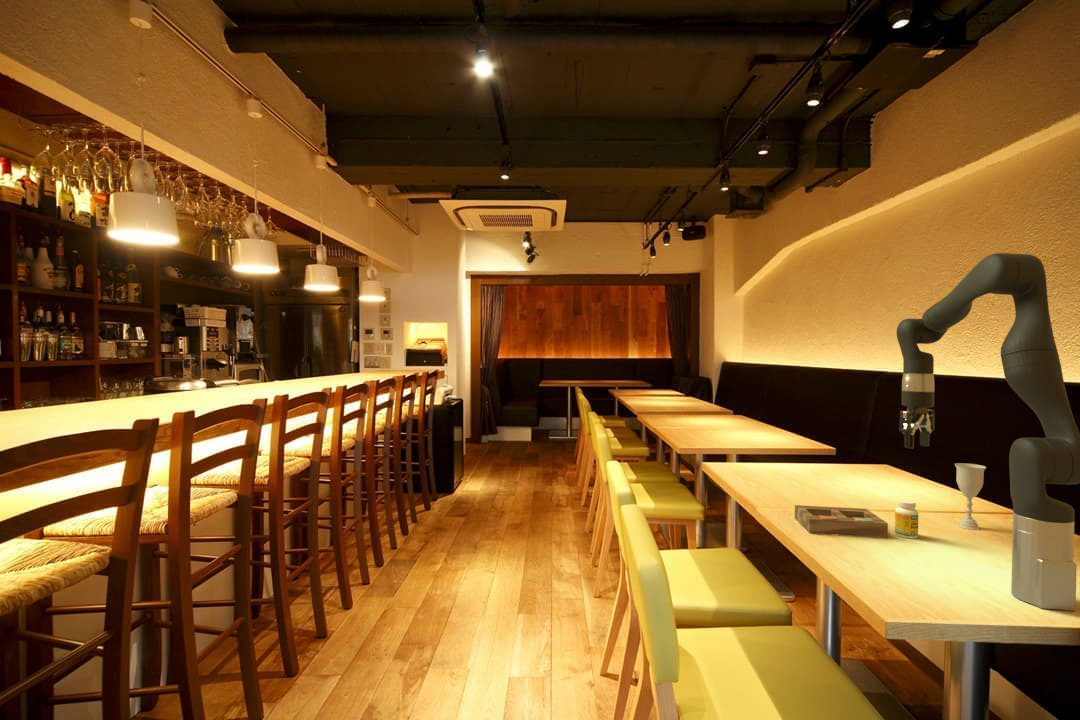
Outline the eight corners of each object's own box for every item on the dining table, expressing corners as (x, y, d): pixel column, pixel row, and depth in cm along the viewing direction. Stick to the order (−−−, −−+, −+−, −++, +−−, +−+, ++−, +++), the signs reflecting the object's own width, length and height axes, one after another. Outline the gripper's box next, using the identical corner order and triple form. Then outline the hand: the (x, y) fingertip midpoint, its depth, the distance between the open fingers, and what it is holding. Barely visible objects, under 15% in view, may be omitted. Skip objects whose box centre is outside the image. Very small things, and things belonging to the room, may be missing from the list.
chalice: (955, 528, 157) (956, 466, 157) (950, 521, 163) (952, 462, 163) (987, 532, 154) (989, 469, 153) (981, 525, 160) (982, 464, 159)
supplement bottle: (900, 531, 154) (900, 497, 154) (921, 536, 150) (922, 502, 149) (891, 534, 151) (891, 500, 151) (912, 540, 147) (913, 505, 146)
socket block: (887, 537, 148) (887, 522, 148) (809, 533, 152) (809, 517, 152) (865, 522, 162) (866, 507, 162) (794, 518, 166) (794, 504, 165)
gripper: (919, 391, 146) (918, 451, 146) (945, 389, 153) (944, 447, 153) (890, 389, 152) (889, 447, 153) (916, 388, 160) (915, 443, 160)
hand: (916, 447), depth 153 cm, fingers open, 8 cm apart
